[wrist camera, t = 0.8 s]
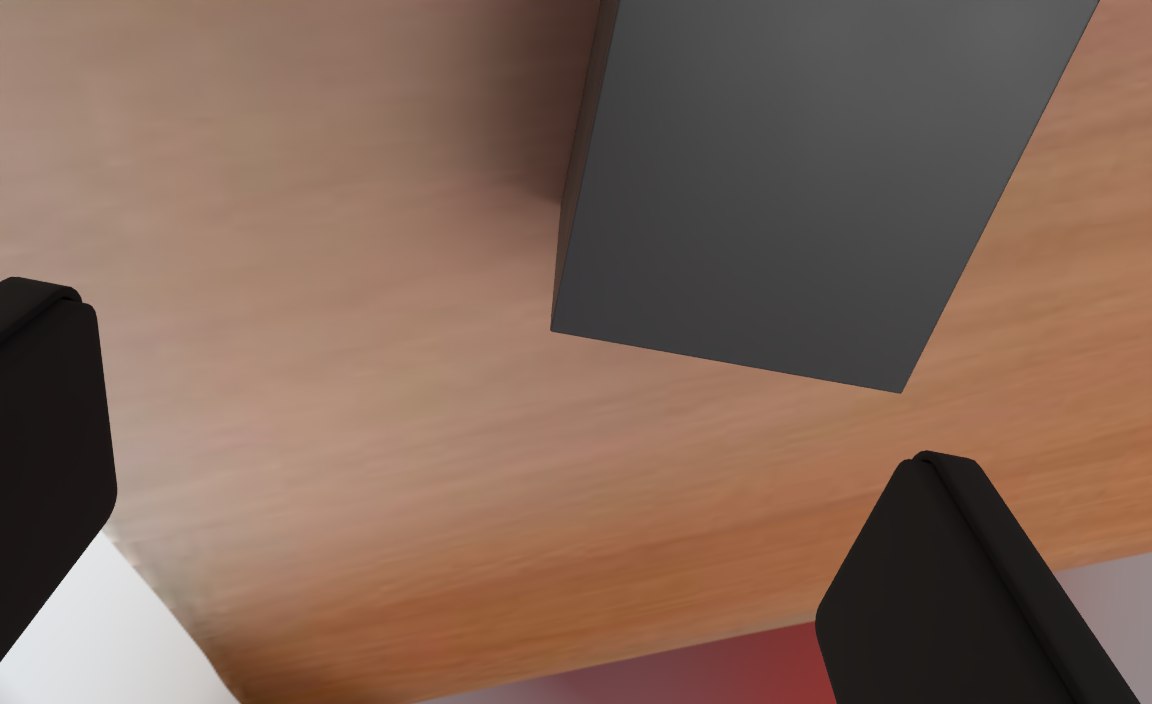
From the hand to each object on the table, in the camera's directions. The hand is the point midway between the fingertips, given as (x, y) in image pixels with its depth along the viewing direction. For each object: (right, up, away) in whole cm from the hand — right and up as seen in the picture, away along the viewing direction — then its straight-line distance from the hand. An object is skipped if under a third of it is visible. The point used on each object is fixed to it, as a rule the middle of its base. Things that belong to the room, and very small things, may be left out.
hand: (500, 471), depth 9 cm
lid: (+8, +8, +13) cm, 17 cm away
